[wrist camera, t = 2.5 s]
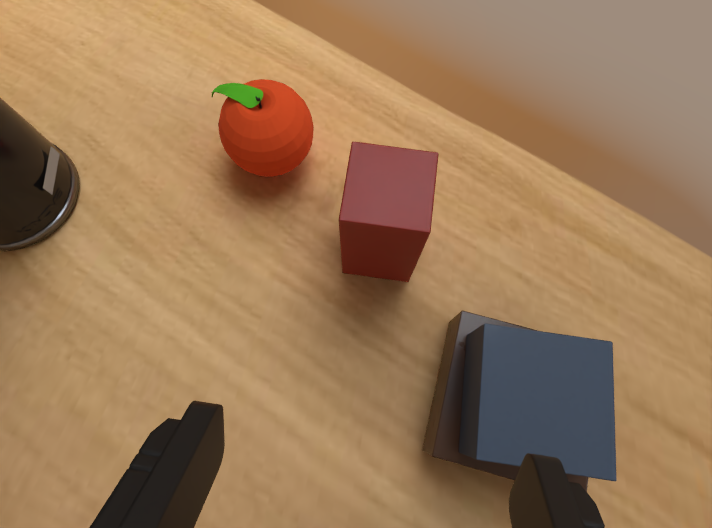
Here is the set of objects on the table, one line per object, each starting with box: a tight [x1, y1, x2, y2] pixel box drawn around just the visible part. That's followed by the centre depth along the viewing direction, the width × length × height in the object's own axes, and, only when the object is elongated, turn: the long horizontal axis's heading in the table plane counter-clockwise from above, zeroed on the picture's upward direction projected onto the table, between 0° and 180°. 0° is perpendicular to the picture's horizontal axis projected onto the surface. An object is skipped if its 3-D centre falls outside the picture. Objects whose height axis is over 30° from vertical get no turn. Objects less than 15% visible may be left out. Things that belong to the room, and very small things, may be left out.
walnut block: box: [422, 311, 588, 492], centre depth 29 cm, size 9×9×4 cm
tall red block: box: [339, 142, 438, 282], centre depth 30 cm, size 5×5×10 cm
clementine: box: [212, 79, 314, 177], centre depth 34 cm, size 8×7×7 cm
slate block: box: [459, 323, 616, 481], centre depth 26 cm, size 7×7×4 cm
